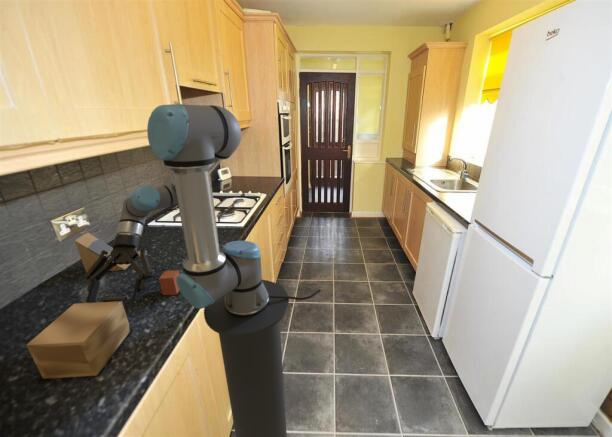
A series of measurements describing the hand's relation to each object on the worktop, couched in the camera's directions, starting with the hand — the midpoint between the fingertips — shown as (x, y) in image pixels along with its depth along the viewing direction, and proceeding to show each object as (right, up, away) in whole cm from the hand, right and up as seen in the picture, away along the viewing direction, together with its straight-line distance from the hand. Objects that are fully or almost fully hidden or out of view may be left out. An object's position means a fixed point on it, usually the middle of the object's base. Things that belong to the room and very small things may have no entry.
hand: (113, 301), depth 82 cm
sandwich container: (-25, +5, +33) cm, 42 cm away
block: (+10, -1, +16) cm, 19 cm away
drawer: (+1, -8, -6) cm, 10 cm away
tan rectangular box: (+1, -11, -10) cm, 15 cm away
